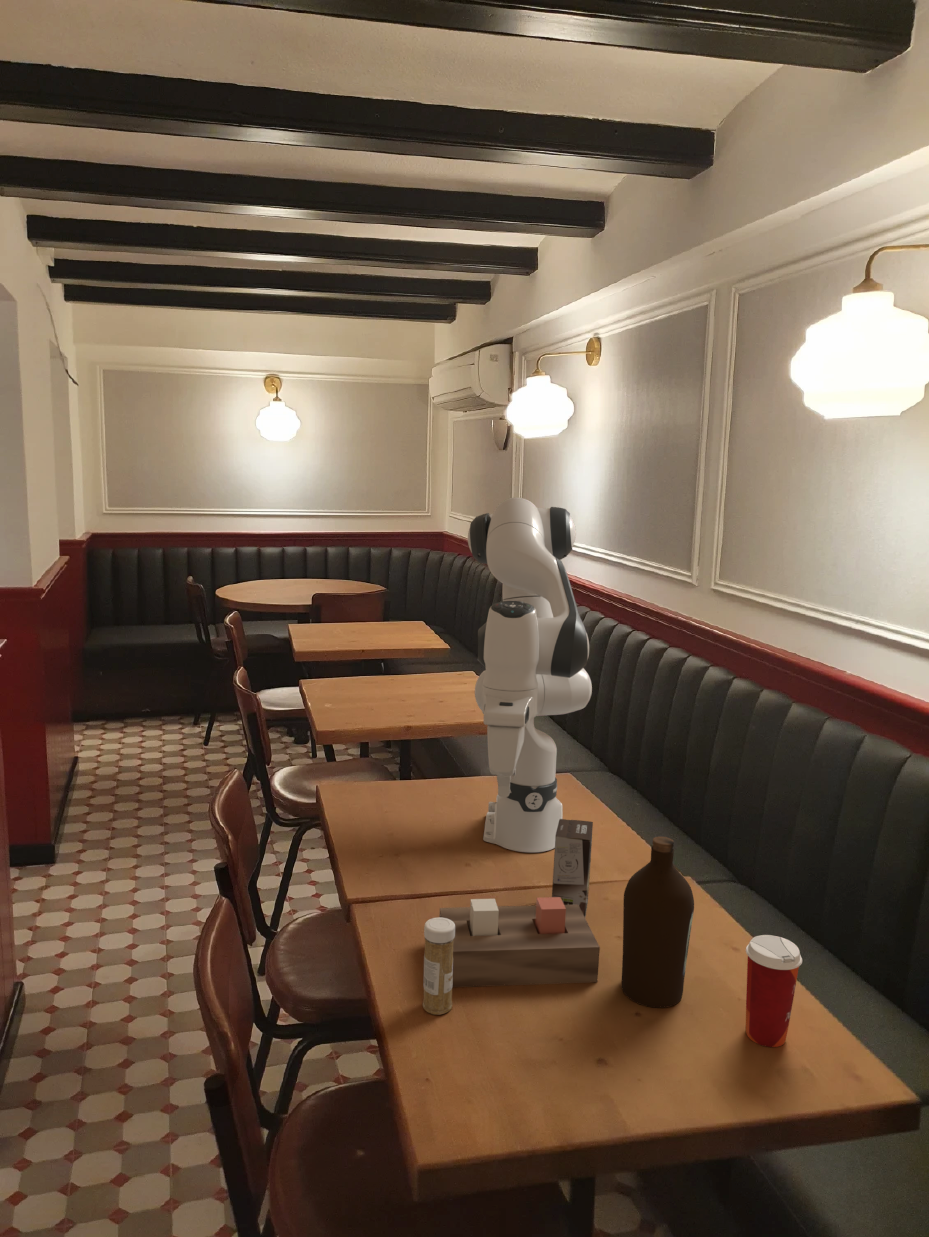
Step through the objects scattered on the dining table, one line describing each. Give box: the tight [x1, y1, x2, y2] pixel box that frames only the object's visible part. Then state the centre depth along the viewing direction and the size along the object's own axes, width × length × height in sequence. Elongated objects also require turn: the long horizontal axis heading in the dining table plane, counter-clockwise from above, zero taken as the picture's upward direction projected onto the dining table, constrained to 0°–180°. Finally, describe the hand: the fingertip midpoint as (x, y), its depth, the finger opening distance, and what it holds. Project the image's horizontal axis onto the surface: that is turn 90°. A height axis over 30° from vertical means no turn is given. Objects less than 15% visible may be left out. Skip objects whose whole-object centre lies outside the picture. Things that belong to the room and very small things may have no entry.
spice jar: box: [422, 917, 455, 1016], centre depth 135 cm, size 5×5×14 cm
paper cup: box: [745, 934, 803, 1048], centre depth 131 cm, size 8×8×14 cm
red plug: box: [535, 896, 566, 934], centre depth 149 cm, size 4×4×6 cm
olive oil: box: [621, 836, 695, 1009], centre depth 140 cm, size 11×11×25 cm
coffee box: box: [551, 818, 594, 918], centre depth 166 cm, size 9×6×16 cm
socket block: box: [439, 904, 601, 988], centre depth 149 cm, size 14×24×6 cm, turn 97°
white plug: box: [469, 898, 499, 936], centre depth 148 cm, size 4×4×6 cm
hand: (507, 786), depth 148 cm, fingers open, 8 cm apart
